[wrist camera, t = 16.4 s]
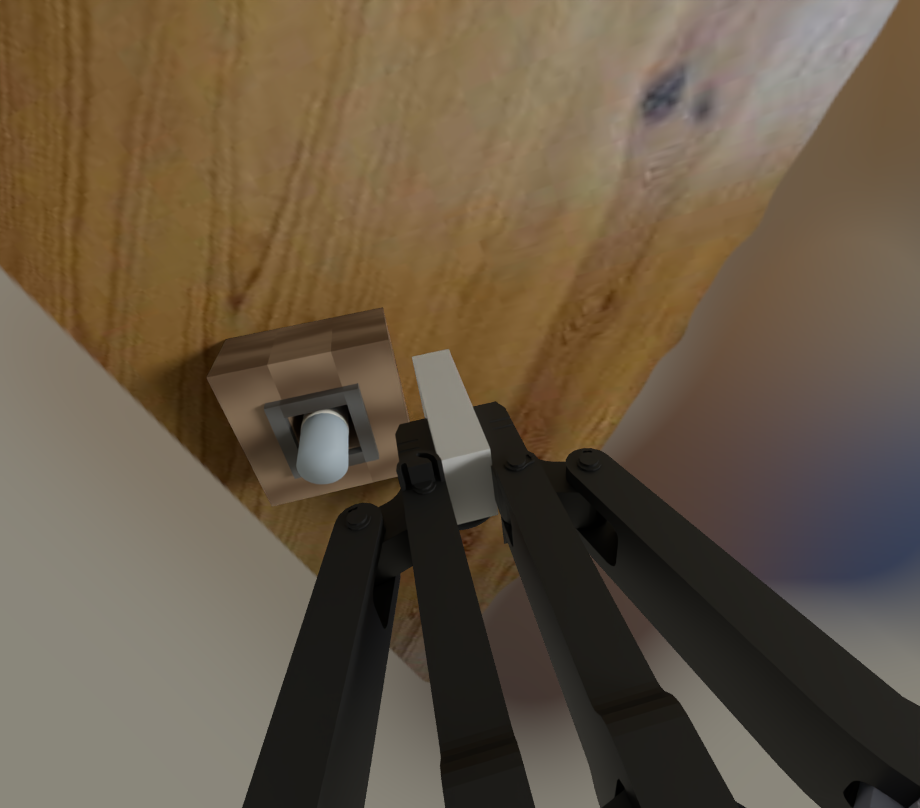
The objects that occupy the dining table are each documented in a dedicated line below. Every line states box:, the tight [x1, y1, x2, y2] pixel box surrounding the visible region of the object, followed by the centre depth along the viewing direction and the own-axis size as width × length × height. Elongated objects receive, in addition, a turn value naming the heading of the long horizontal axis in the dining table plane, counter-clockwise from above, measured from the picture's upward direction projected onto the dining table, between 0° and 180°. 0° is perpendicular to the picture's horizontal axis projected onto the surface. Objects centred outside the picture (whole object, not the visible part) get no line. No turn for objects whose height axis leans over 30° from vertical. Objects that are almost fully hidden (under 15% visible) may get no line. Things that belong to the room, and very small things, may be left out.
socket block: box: [206, 308, 410, 506], centre depth 49 cm, size 16×16×9 cm
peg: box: [296, 405, 349, 484], centre depth 46 cm, size 4×4×12 cm
